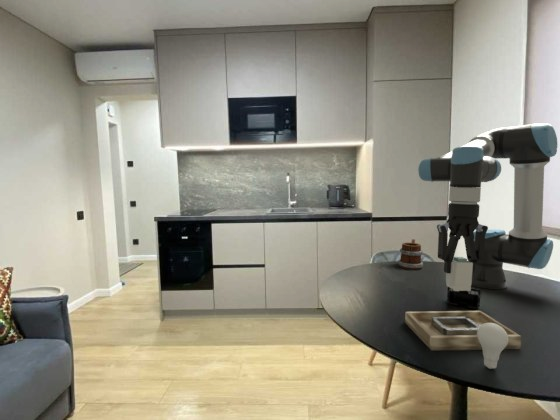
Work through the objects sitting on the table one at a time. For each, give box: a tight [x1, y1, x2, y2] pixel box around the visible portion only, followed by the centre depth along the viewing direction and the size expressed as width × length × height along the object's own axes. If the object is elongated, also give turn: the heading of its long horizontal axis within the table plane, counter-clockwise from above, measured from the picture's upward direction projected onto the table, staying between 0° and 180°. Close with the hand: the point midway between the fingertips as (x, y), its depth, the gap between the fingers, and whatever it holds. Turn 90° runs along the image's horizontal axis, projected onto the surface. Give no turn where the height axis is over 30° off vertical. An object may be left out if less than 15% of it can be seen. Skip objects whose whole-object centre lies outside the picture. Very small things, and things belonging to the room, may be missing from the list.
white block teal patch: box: [445, 256, 473, 291], centre depth 89 cm, size 4×4×9 cm
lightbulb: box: [477, 323, 508, 370], centre depth 74 cm, size 6×6×11 cm
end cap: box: [446, 286, 482, 311], centre depth 111 cm, size 10×7×7 cm
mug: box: [397, 239, 424, 271], centre depth 160 cm, size 12×14×15 cm
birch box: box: [404, 310, 522, 351], centre depth 90 cm, size 24×16×4 cm, turn 92°
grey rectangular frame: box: [431, 316, 480, 336], centre depth 91 cm, size 11×8×2 cm
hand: (458, 283), depth 90 cm, fingers closed on white block teal patch, 4 cm apart
